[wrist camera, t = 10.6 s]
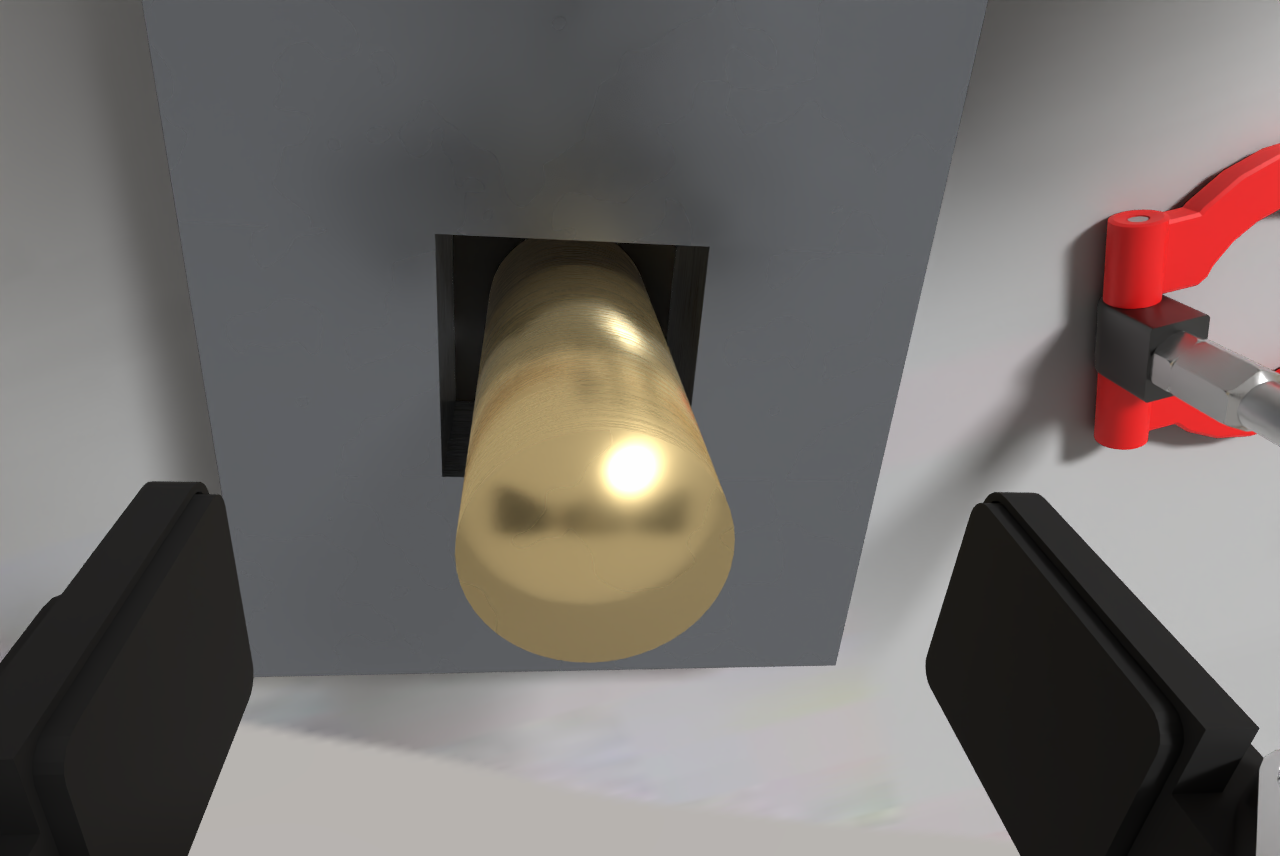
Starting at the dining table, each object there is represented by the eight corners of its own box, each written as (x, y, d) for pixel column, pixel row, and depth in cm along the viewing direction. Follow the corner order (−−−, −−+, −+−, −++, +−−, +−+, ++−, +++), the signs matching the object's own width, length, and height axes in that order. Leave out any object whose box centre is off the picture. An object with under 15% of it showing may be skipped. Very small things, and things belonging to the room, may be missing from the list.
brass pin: (489, 223, 21) (451, 426, 11) (652, 231, 22) (752, 432, 12) (489, 375, 23) (456, 665, 13) (640, 379, 23) (718, 660, 14)
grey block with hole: (170, -373, 16) (63, -481, 12) (957, -269, 18) (1064, -335, 14) (291, 578, 25) (251, 676, 21) (795, 575, 27) (835, 665, 23)
